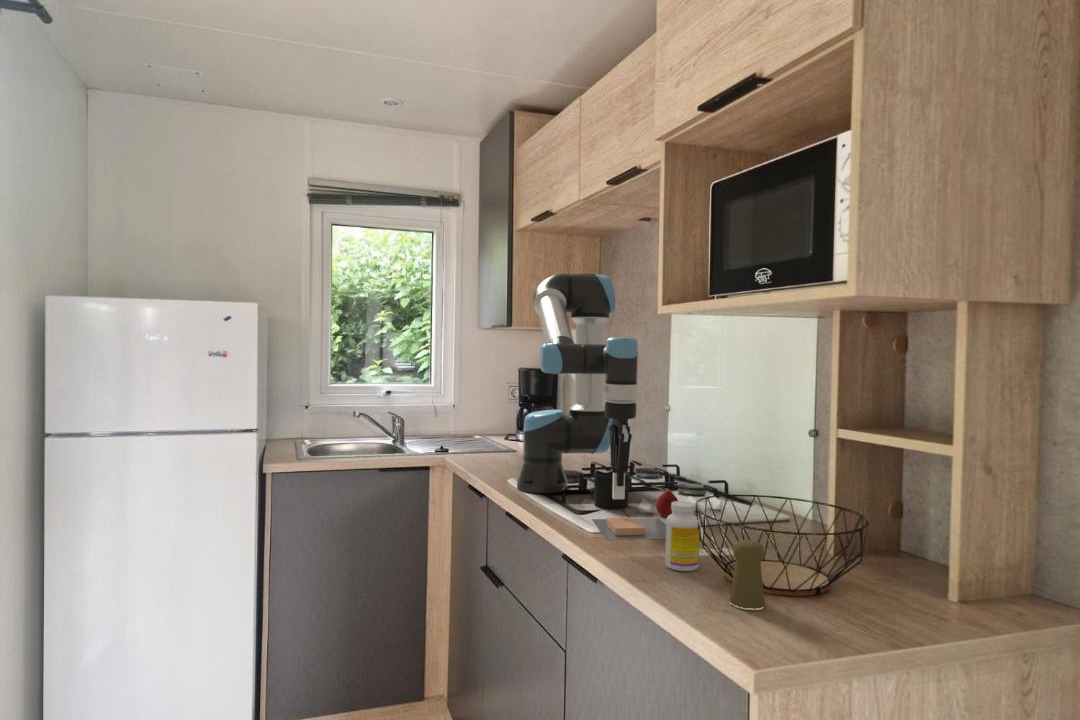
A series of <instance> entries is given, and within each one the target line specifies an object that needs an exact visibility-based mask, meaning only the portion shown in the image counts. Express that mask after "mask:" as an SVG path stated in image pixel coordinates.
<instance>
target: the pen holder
mask: <svg viewBox="0 0 1080 720" xmlns="http://www.w3.org/2000/svg"><path fill="white" fill-rule="evenodd" d="M630 478H631V477H630V472H629V471H627V472H626V473H625V499H613V498H612V489H613V473H612V470H611V471H608V472H603V471H600V470H595V471H593V480H594V481H593V486H594V487H593V489H594V495H593V496H594V497H593V498H594V506H595V508H598V509H602V510H607V511H609V510H611V511H613V510H614V511H617V510H618V511H619V510H626V509H627V508H628V505H629V491H630V490H629V489H630Z"/></svg>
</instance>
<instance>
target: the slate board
mask: <svg viewBox="0 0 1080 720" xmlns="http://www.w3.org/2000/svg"><path fill="white" fill-rule="evenodd" d="M606 519H607V518H598V519H597V518H593V519H592V518H591V521H592V522H593V524H594V525H595V526H596V528H597V529H598V530H599V532H600V534H602V536H603V537H604V538H605V540H606V541H607V540H609V541H611V540H613V541H615V540H616V541H617V540H622V541H623V540H659V539H660V540H662V539H663V540H664V539H665V540H666V522H664V521H663V520H662V519H660V518H659V517H658V518H657V517H656V518H653V517H651V518H636V519H637V520H638V521H639V522H640V523H641V524H642V525H643V526H644V527H645V528H646V530H645V535H627V536H616V535H614V533H613V532H612V531H611V530H610V528H609V527H608V526H607V525H606Z"/></svg>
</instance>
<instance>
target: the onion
mask: <svg viewBox="0 0 1080 720" xmlns="http://www.w3.org/2000/svg"><path fill="white" fill-rule="evenodd" d="M675 501H679V499H678V497H677V496H676V495H675V494H674V493H673V492H671V491H670V488H665V490H664V492H662V494H661V495H659V497H657V499H656V503H655V506H656V507H655V508H656V511H657V513H658V514H659V515H660V516H662V517H663V518H667V517H668V516H669V515H670V514H672V509H671V503H672V502H675Z"/></svg>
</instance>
